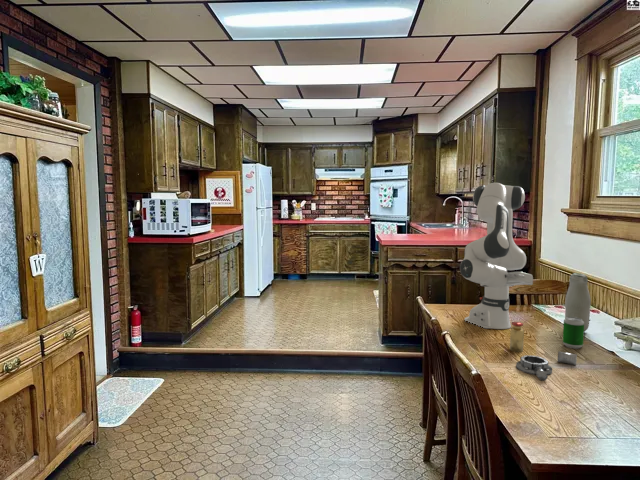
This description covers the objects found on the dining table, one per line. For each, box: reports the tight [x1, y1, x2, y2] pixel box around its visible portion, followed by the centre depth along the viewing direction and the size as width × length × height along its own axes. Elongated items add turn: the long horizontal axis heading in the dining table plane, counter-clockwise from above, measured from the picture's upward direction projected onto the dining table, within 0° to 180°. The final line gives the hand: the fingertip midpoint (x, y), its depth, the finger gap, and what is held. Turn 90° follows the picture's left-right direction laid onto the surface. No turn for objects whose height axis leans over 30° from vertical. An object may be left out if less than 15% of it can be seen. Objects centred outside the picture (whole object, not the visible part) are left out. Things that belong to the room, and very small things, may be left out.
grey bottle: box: [564, 272, 592, 332], centre depth 201 cm, size 10×10×28 cm
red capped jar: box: [509, 321, 525, 353], centre depth 179 cm, size 5×5×12 cm
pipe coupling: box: [557, 351, 577, 366], centre depth 165 cm, size 6×4×4 cm, turn 54°
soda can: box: [562, 317, 585, 350], centre depth 183 cm, size 8×8×12 cm
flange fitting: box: [515, 354, 553, 382], centre depth 157 cm, size 12×16×4 cm
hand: (521, 283), depth 176 cm, fingers open, 8 cm apart
